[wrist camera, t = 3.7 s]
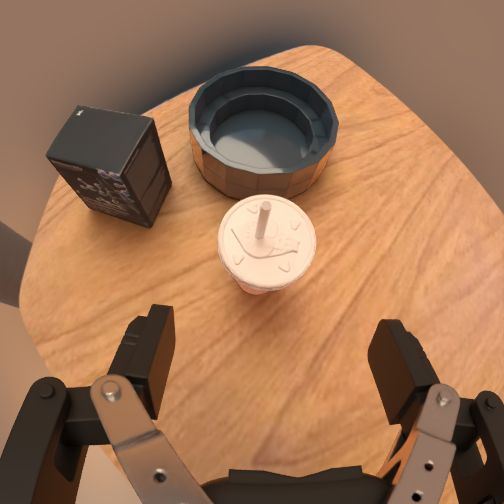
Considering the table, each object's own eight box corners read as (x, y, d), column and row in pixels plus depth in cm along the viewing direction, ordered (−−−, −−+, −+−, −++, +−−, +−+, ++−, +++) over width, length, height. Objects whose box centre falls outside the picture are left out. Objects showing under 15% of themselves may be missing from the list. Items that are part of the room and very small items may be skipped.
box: (88, 209, 30) (42, 154, 20) (112, 165, 32) (78, 102, 22) (151, 231, 30) (118, 175, 20) (174, 182, 32) (154, 114, 22)
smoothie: (232, 234, 30) (234, 144, 17) (297, 252, 30) (345, 175, 17) (212, 298, 28) (196, 249, 15) (281, 317, 28) (326, 285, 15)
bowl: (196, 211, 31) (189, 180, 25) (193, 106, 35) (189, 70, 30) (335, 201, 32) (354, 171, 27) (308, 102, 37) (318, 67, 31)
